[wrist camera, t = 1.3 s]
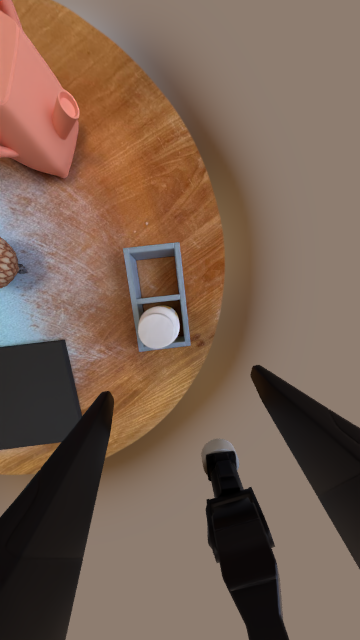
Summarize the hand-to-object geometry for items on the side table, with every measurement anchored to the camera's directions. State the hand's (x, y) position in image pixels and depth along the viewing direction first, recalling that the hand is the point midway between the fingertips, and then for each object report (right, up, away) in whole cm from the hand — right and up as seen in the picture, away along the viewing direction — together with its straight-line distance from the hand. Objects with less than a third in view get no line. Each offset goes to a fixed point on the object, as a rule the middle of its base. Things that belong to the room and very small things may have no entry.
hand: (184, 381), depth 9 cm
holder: (-4, +7, +16) cm, 18 cm away
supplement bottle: (-3, +4, +17) cm, 17 cm away
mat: (-29, -10, +17) cm, 36 cm away
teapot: (-20, +30, +13) cm, 38 cm away
